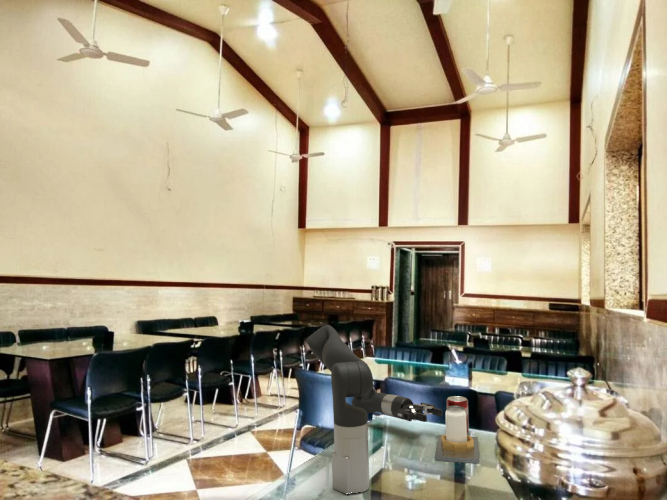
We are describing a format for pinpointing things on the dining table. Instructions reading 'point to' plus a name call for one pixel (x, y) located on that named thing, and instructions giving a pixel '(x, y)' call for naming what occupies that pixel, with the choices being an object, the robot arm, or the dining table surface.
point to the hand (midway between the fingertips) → (434, 415)
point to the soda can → (459, 402)
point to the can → (456, 424)
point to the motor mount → (457, 450)
